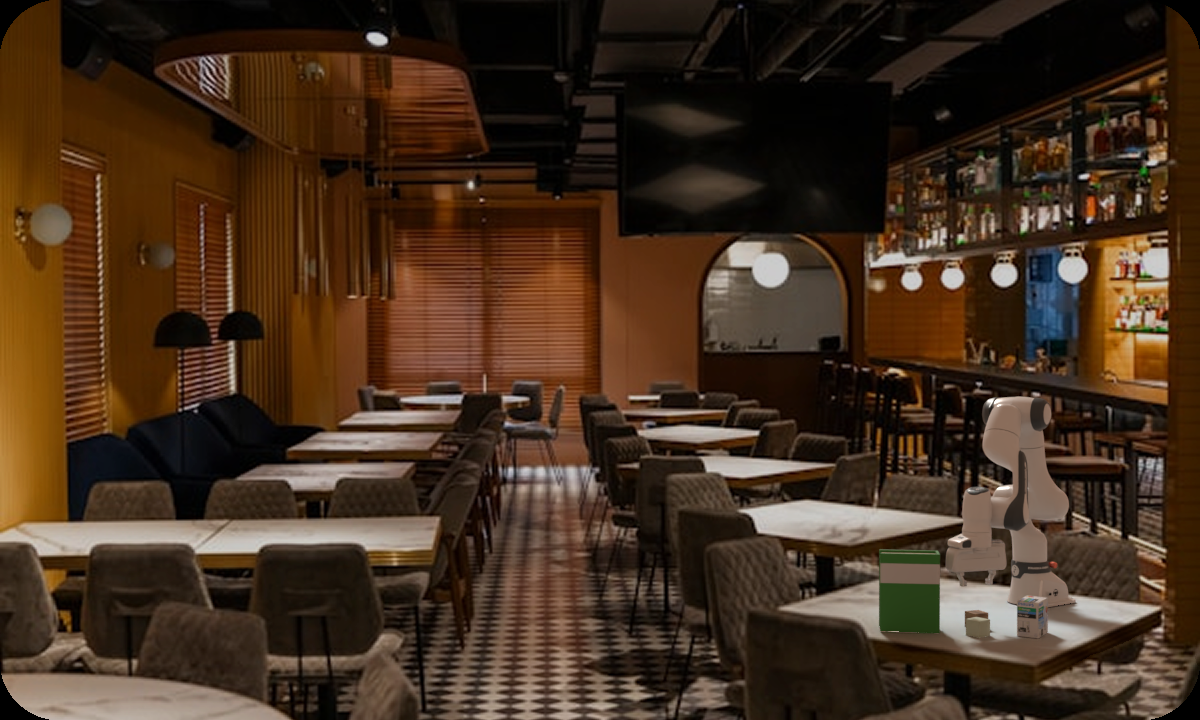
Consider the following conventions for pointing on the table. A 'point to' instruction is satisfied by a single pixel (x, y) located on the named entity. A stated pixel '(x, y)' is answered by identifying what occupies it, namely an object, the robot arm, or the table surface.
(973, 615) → the walnut cube
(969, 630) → the sage cube
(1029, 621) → the light bulb box
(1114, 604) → the table surface
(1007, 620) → the table surface
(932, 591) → the green upright box
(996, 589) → the table surface
